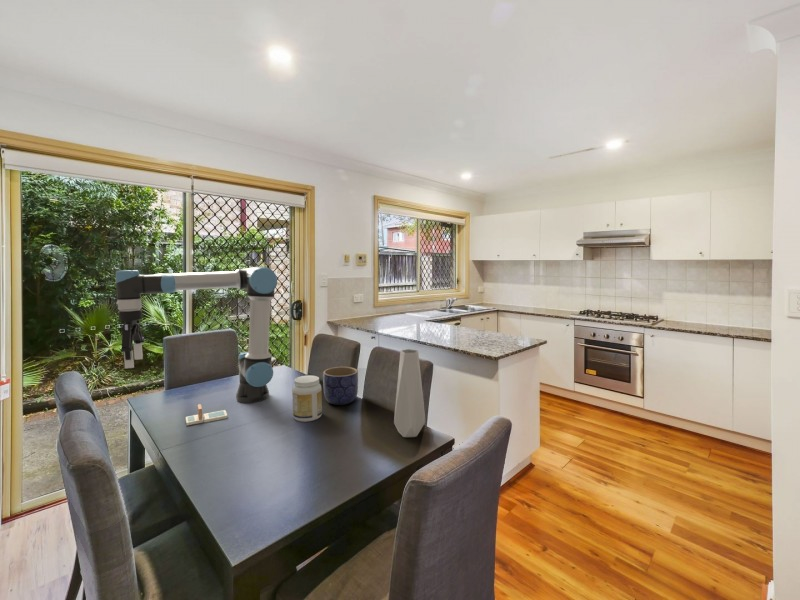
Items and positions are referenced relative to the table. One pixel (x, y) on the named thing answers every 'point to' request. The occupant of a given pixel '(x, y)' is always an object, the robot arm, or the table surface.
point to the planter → (340, 385)
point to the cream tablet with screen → (214, 416)
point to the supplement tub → (307, 398)
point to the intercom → (195, 417)
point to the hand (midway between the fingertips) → (134, 363)
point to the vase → (409, 395)
